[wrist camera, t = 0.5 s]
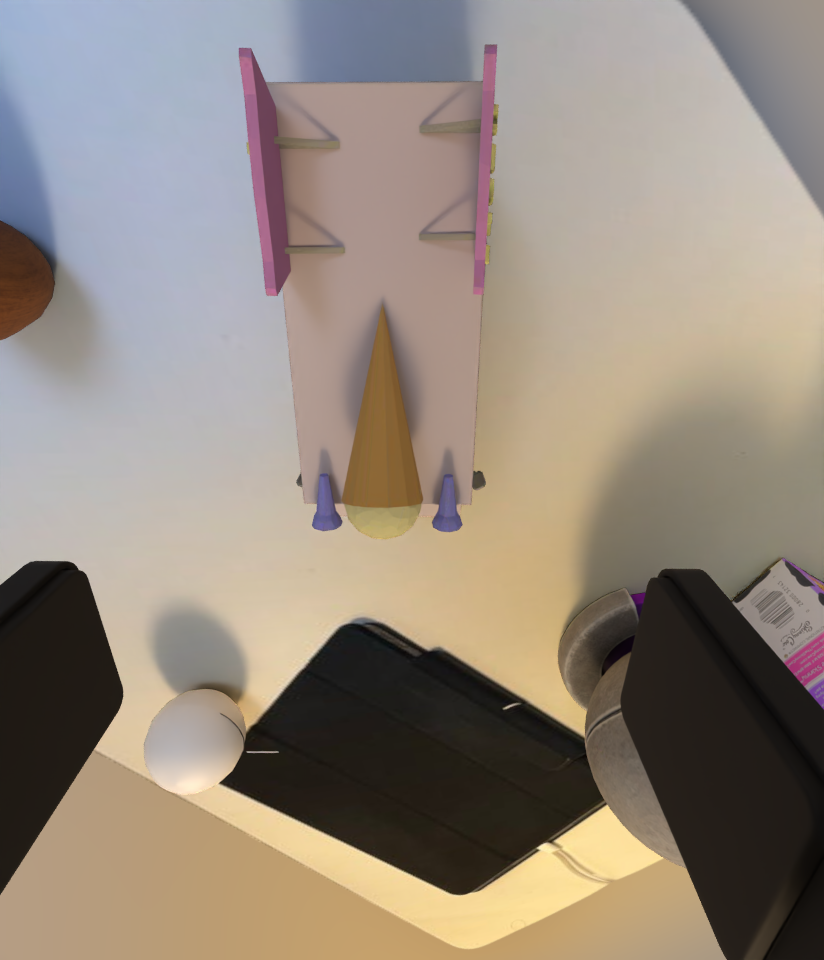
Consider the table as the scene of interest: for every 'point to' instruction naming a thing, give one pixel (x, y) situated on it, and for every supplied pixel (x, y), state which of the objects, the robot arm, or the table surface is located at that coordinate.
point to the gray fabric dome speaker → (613, 714)
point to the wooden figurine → (21, 281)
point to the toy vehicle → (378, 284)
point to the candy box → (790, 620)
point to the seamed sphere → (195, 741)
